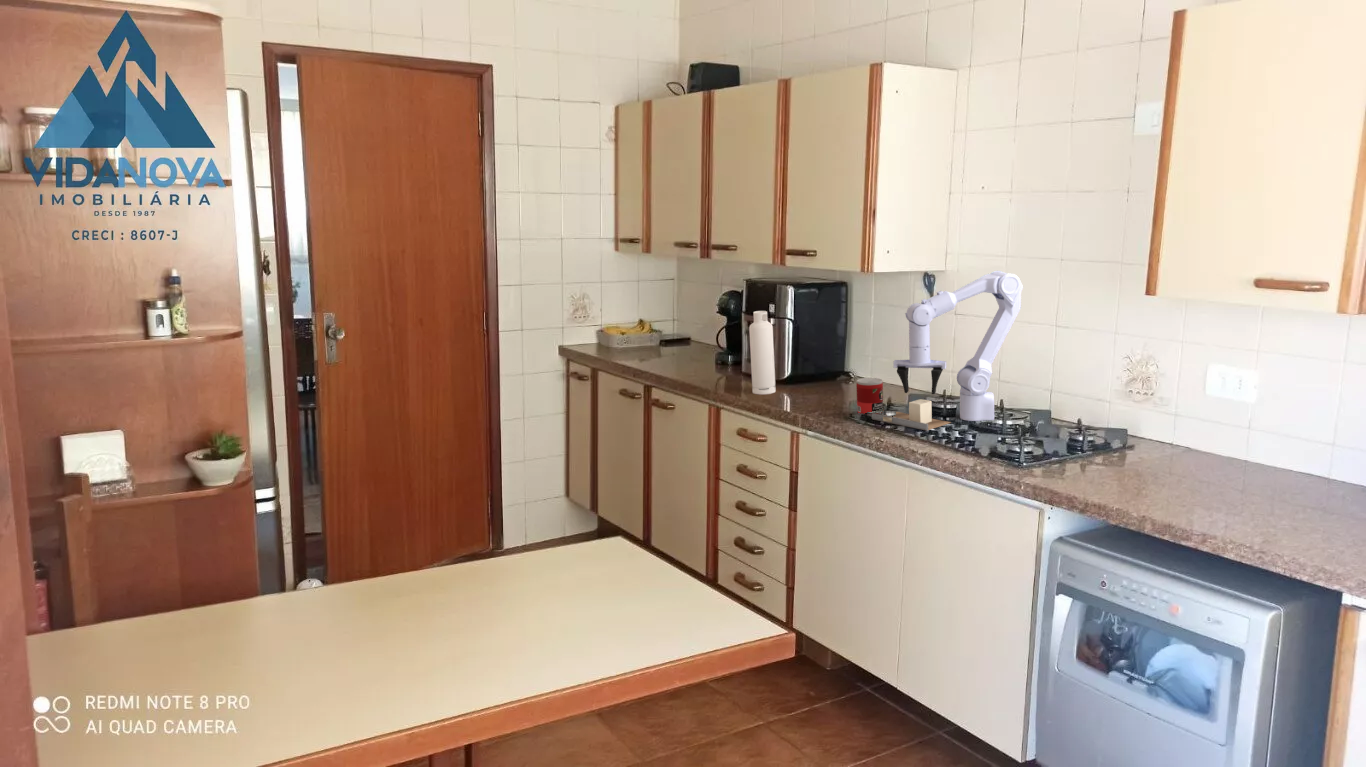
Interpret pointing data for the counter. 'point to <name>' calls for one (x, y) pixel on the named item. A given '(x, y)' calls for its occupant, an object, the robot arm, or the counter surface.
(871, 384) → the canned food
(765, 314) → the bottle
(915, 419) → the carton
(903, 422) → the shelf
